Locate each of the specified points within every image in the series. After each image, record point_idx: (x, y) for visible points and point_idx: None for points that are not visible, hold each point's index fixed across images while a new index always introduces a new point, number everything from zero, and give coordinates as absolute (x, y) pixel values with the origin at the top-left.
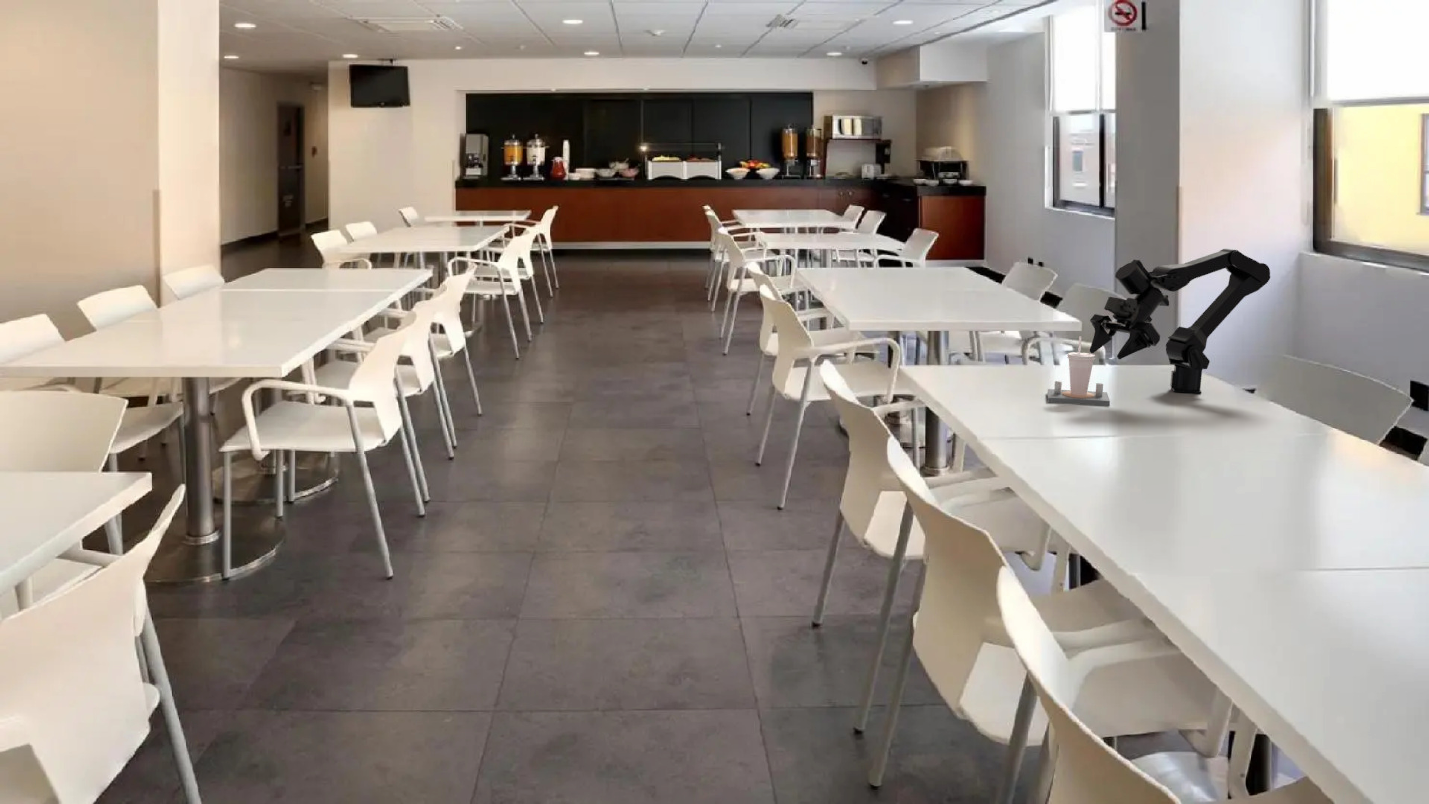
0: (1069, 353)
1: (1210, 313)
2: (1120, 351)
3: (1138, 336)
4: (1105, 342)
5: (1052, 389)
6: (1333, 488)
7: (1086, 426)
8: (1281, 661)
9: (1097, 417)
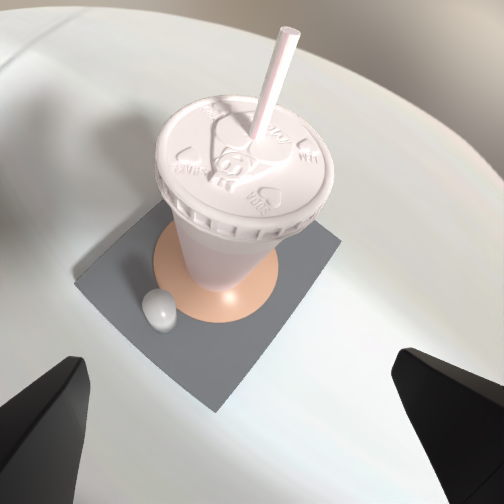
0: (304, 124)
1: None
2: (53, 383)
3: None
4: (457, 502)
5: (330, 248)
6: None
7: (12, 100)
8: None
9: (24, 155)
